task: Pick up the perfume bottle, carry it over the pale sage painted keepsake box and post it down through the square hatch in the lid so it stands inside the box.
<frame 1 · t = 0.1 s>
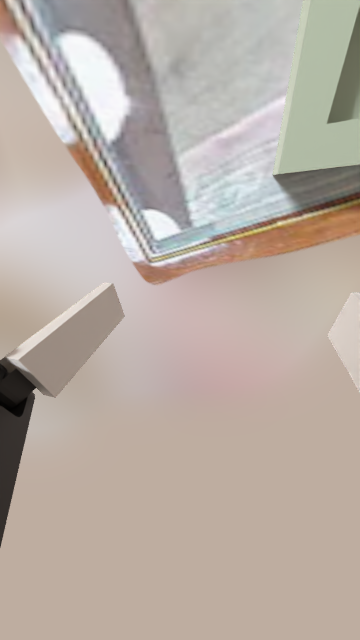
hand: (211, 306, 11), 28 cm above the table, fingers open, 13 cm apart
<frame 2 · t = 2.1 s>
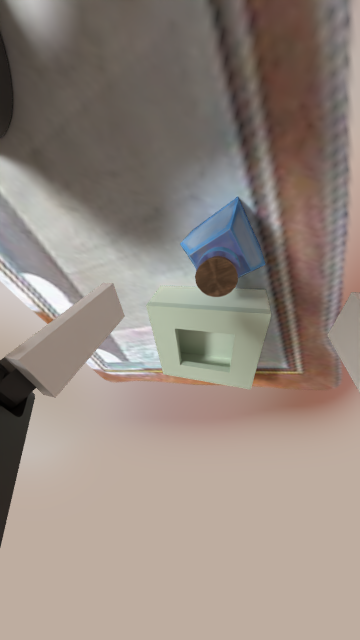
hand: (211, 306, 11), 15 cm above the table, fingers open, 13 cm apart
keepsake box: (208, 327, 32), on the table
perfume bottle: (225, 237, 22), on the table
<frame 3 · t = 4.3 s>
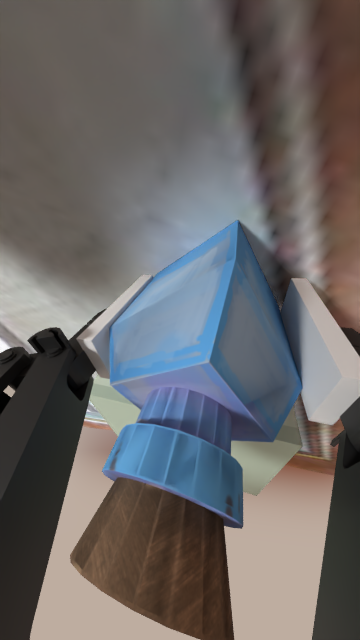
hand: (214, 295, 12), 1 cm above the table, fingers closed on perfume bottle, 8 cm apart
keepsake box: (195, 396, 22), on the table
perfume bottle: (215, 287, 12), on the table, touching gripper
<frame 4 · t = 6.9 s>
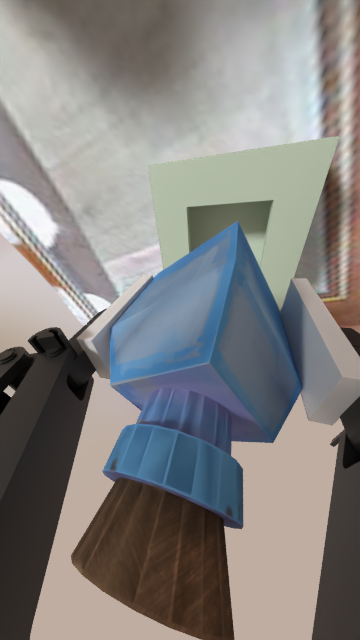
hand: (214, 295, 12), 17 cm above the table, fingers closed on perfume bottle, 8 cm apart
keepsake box: (227, 235, 25), on the table
perfume bottle: (215, 288, 13), point 16 cm above the table, touching gripper
when the fingers open (8 cm above the table, at t = 9.4 s): perfume bottle drops 6 cm, resting on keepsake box.
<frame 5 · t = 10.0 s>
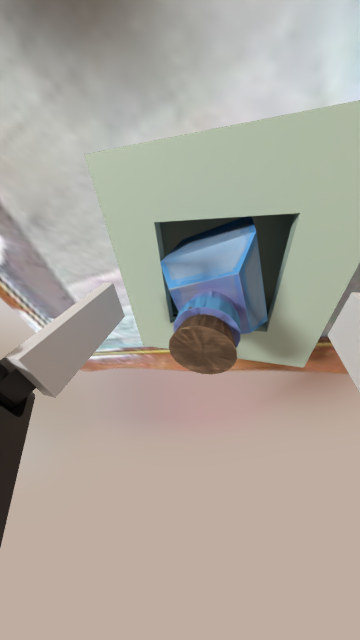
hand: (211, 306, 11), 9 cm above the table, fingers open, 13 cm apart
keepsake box: (222, 256, 18), on the table
perfume bottle: (222, 260, 17), point 1 cm above the table, touching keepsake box
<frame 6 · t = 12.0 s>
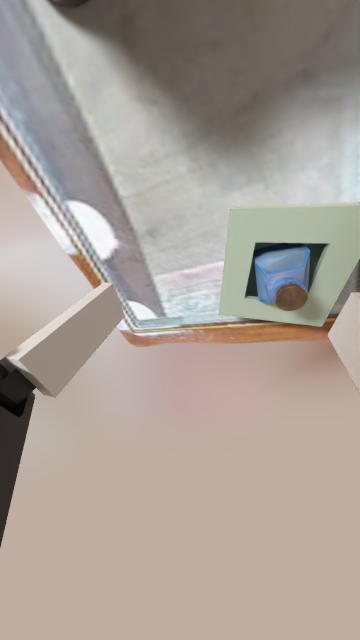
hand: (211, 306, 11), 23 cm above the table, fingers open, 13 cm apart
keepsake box: (274, 261, 29), on the table
perfume bottle: (274, 263, 29), point 1 cm above the table, touching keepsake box
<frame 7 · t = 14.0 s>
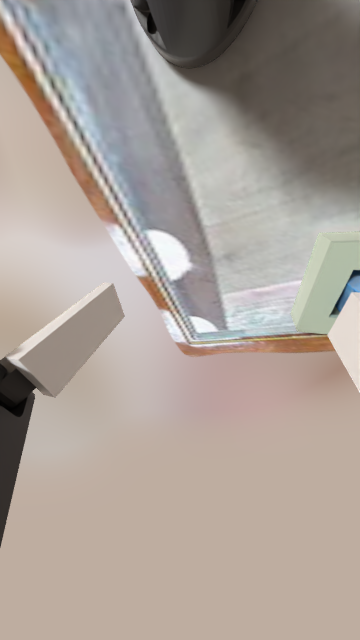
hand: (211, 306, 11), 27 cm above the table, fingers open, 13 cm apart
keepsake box: (354, 280, 31), on the table
perfume bottle: (355, 282, 31), point 1 cm above the table, touching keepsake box
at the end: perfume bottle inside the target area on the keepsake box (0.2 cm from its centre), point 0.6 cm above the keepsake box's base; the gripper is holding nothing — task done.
